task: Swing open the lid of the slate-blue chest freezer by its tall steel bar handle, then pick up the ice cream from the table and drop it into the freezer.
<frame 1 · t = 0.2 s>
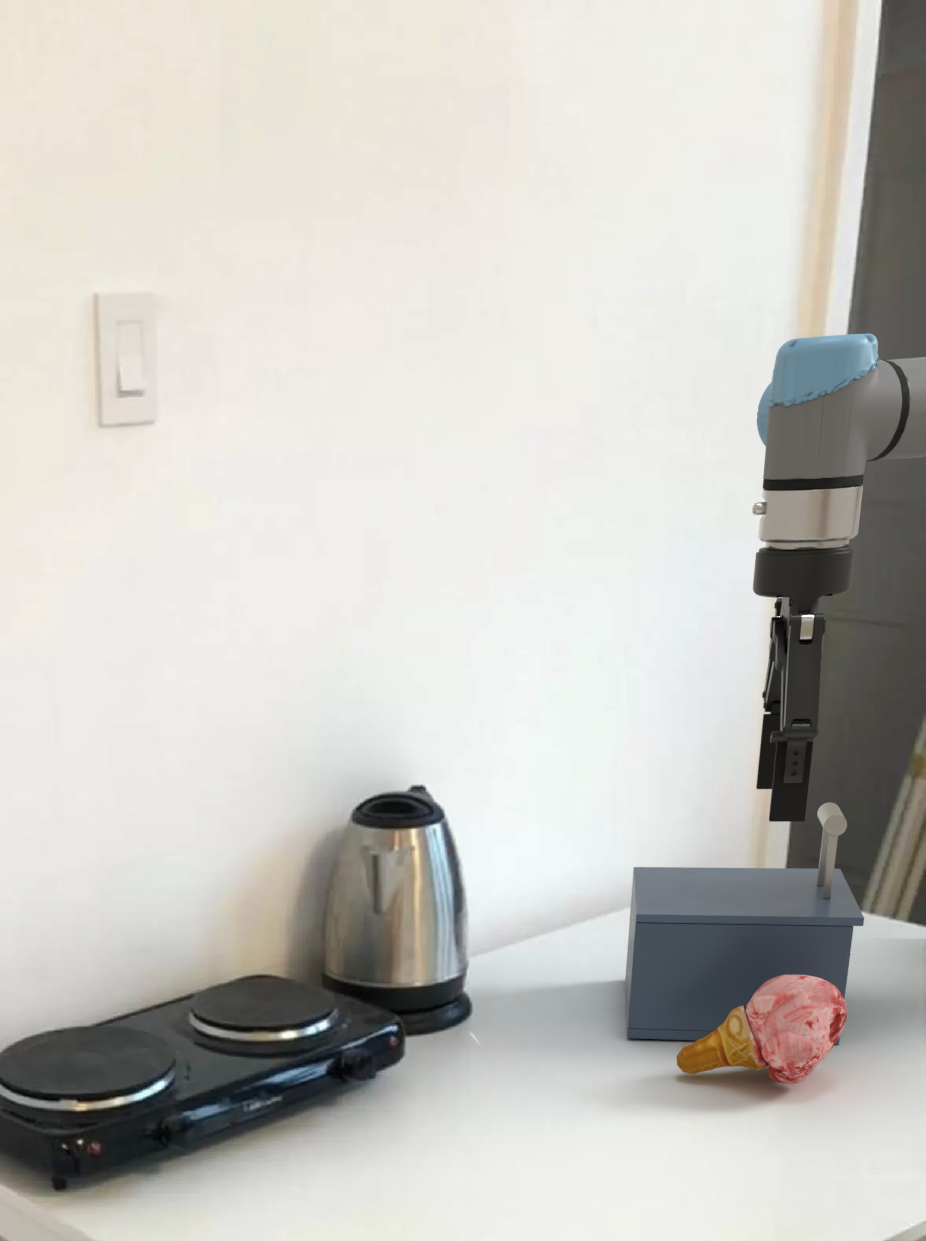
hand: (779, 804, 153), 24 cm above the table, tool pointing down, fingers open, 13 cm apart
freezer: (725, 1011, 178), on the table
ice cream: (762, 1081, 160), on the table
freezer lid: (745, 854, 172), point 16 cm above the table, hinge at 0.0°
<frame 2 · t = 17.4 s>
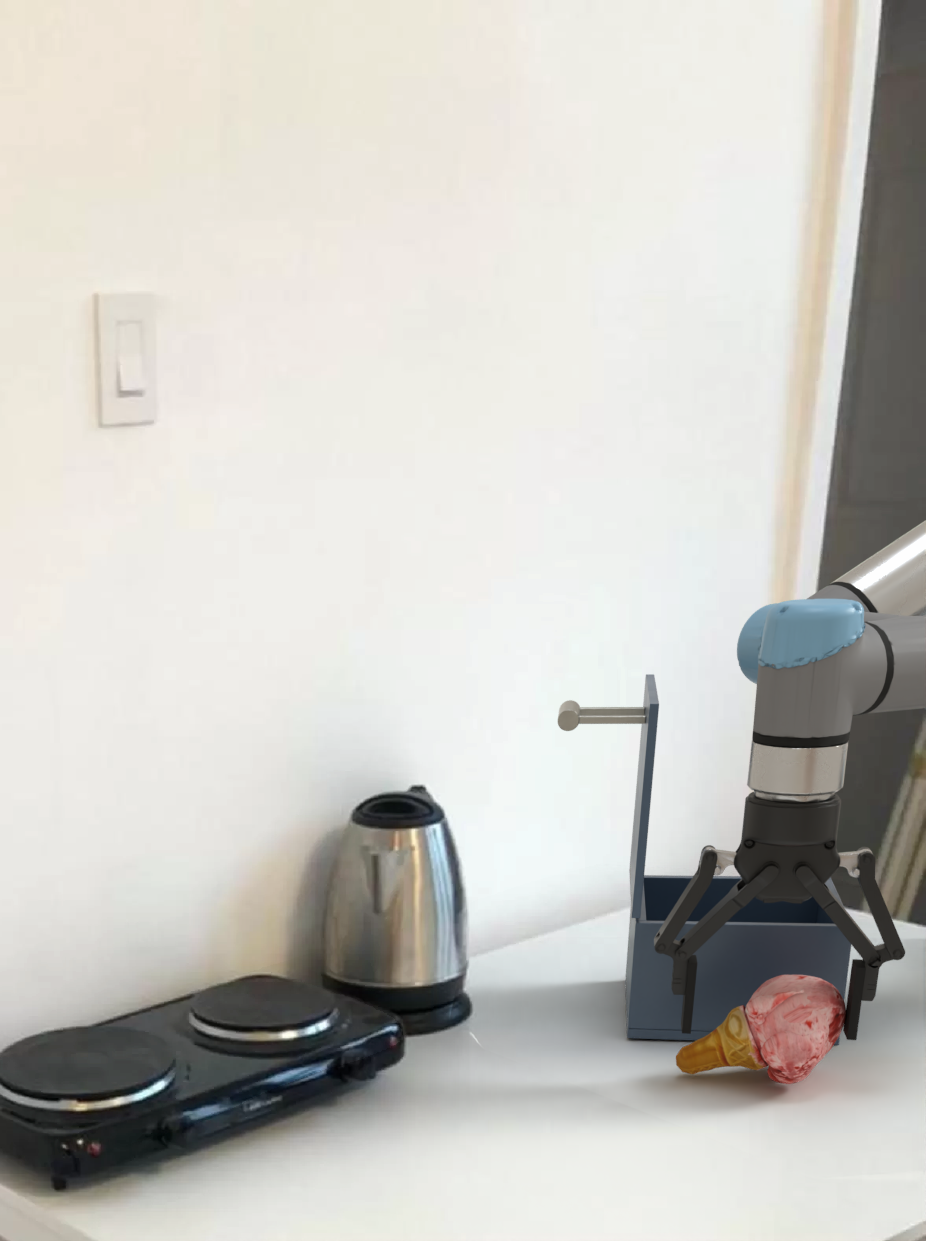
hand: (766, 1032, 158), 5 cm above the table, tool pointing down, fingers open, 13 cm apart
freezer lid: (600, 792, 173), point 22 cm above the table, hinge at 89.4°
everything else where it was.
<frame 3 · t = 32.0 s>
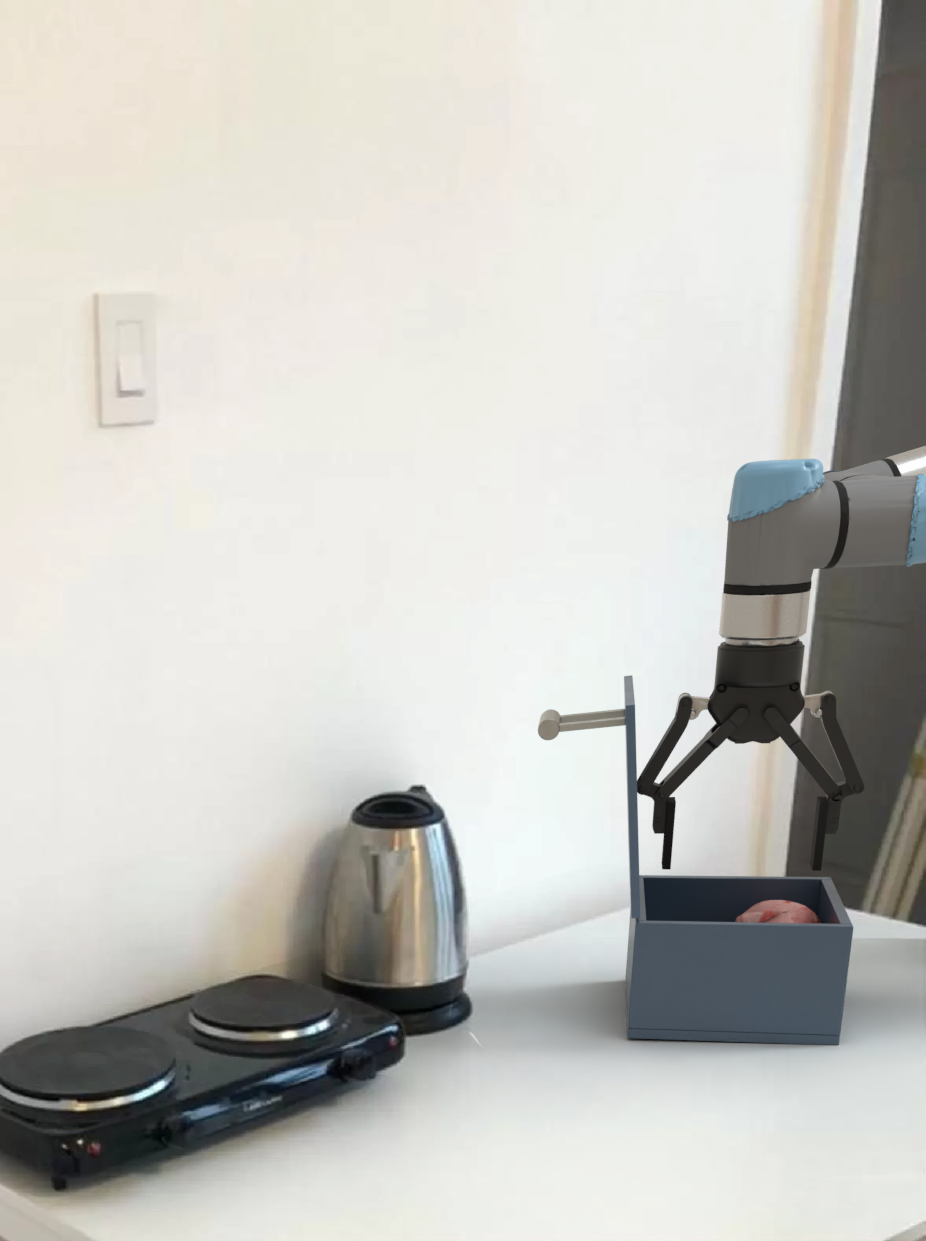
hand: (739, 867, 172), 15 cm above the table, tool pointing down, fingers open, 13 cm apart
ice cream: (739, 994, 178), point 2 cm above the table
freezer lid: (588, 797, 174), point 21 cm above the table, hinge at 95.3°, touching gripper
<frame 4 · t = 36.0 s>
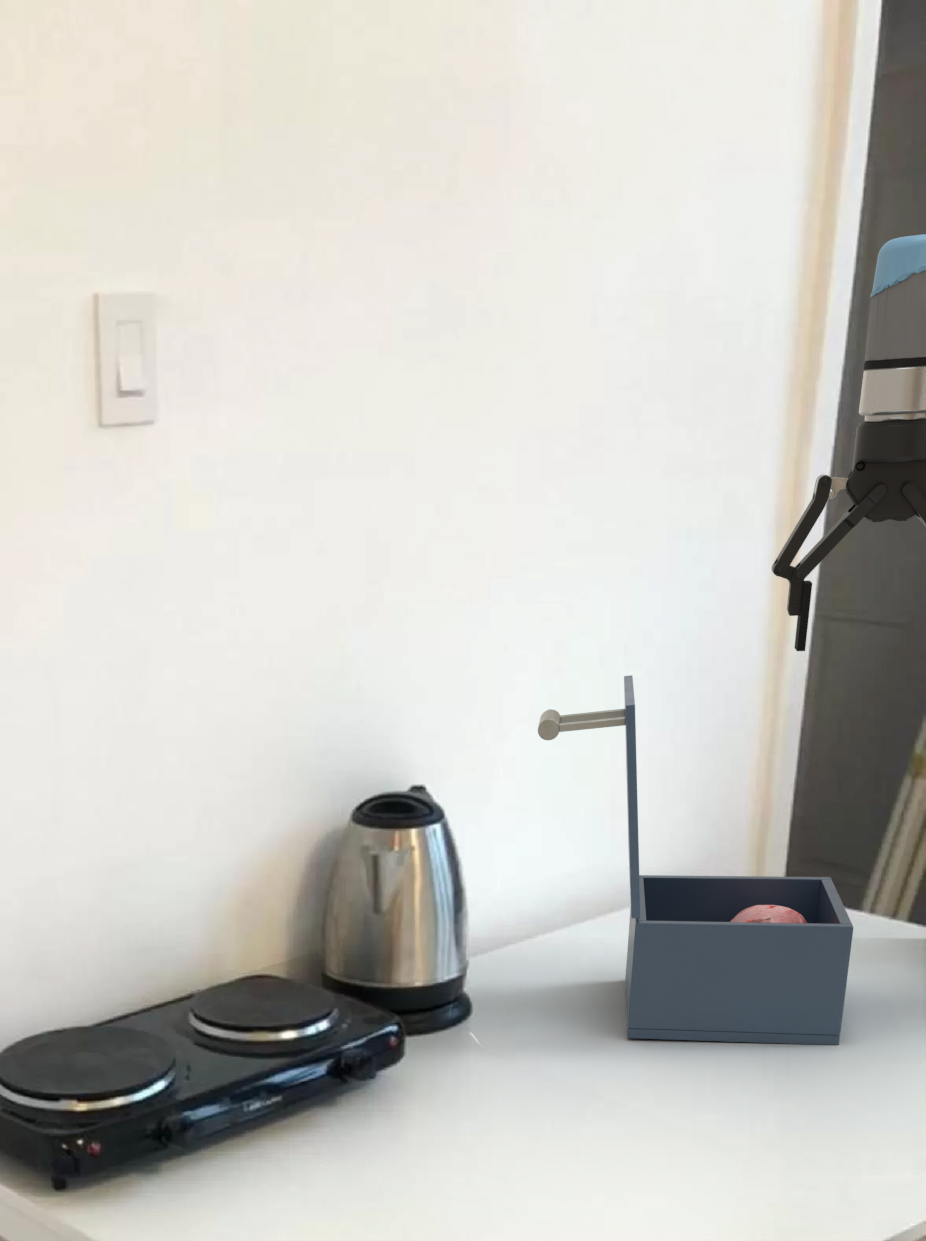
hand: (872, 648, 178), 33 cm above the table, tool pointing down, fingers open, 13 cm apart
ice cream: (735, 1001, 178), point 1 cm above the table, touching freezer
freezer lid: (588, 797, 174), point 21 cm above the table, hinge at 95.3°
at the end: freezer lid at +95° (first picture: +0°); ice cream inside the target area in the freezer (1.1 cm from its centre), point 0.8 cm above the freezer's base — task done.
